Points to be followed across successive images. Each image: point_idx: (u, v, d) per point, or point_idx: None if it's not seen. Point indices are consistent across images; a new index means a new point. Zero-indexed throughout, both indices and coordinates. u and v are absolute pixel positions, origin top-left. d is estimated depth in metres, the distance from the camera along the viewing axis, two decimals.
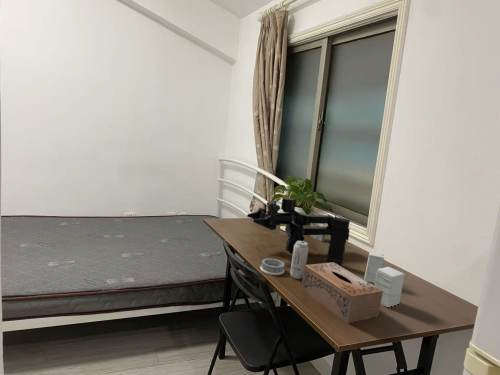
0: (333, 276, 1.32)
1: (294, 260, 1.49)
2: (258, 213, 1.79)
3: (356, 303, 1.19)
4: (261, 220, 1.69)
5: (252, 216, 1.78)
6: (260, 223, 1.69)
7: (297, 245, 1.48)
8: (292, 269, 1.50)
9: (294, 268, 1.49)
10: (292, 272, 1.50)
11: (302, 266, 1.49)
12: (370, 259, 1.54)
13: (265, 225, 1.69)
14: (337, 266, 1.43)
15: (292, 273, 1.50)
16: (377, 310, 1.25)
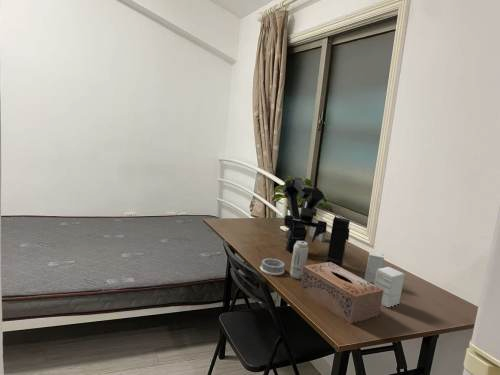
0: (333, 276, 1.32)
1: (294, 260, 1.49)
2: (293, 225, 1.61)
3: (359, 303, 1.20)
4: (316, 234, 1.57)
5: (292, 233, 1.60)
6: (316, 237, 1.58)
7: (297, 245, 1.48)
8: (292, 269, 1.50)
9: (294, 268, 1.49)
10: (292, 272, 1.50)
11: (302, 266, 1.49)
12: (370, 259, 1.54)
13: (318, 233, 1.60)
14: (335, 266, 1.43)
15: (292, 273, 1.50)
16: (377, 309, 1.26)
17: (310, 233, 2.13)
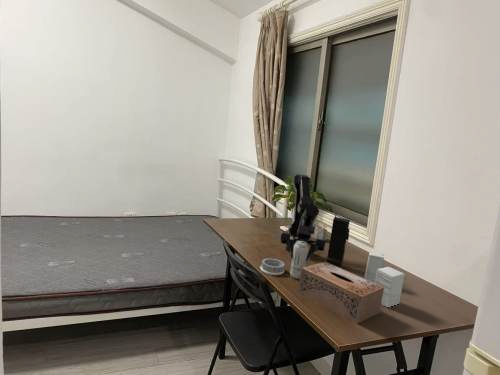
0: (334, 277, 1.31)
1: (294, 260, 1.49)
2: (293, 244, 1.53)
3: (365, 302, 1.20)
4: (311, 253, 1.50)
5: (292, 252, 1.52)
6: (310, 255, 1.51)
7: (297, 245, 1.48)
8: (292, 269, 1.50)
9: (294, 268, 1.49)
10: (292, 272, 1.50)
11: (302, 266, 1.49)
12: (370, 259, 1.54)
13: (313, 251, 1.53)
14: (331, 265, 1.42)
15: (292, 273, 1.50)
16: (378, 307, 1.28)
17: None
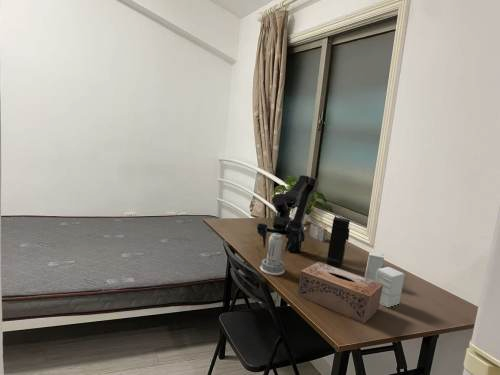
0: (335, 278, 1.31)
1: (269, 252, 1.53)
2: (266, 234, 1.57)
3: (371, 301, 1.22)
4: (289, 244, 1.53)
5: (265, 242, 1.56)
6: (289, 246, 1.55)
7: (272, 237, 1.52)
8: (267, 261, 1.54)
9: (269, 259, 1.53)
10: (267, 263, 1.54)
11: (277, 258, 1.53)
12: (370, 259, 1.54)
13: (292, 242, 1.56)
14: (326, 265, 1.42)
15: (267, 264, 1.54)
16: (378, 303, 1.31)
17: (310, 233, 2.13)
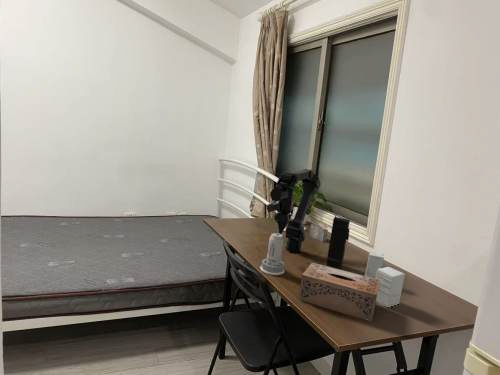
0: (336, 278, 1.30)
1: (269, 252, 1.53)
2: None
3: None
4: (279, 226, 1.64)
5: None
6: (282, 228, 1.64)
7: (272, 237, 1.52)
8: (267, 261, 1.54)
9: (269, 260, 1.53)
10: (267, 263, 1.54)
11: (277, 258, 1.53)
12: (370, 259, 1.54)
13: (284, 223, 1.62)
14: (321, 266, 1.41)
15: (267, 264, 1.54)
16: None
17: (311, 233, 2.13)
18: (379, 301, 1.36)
